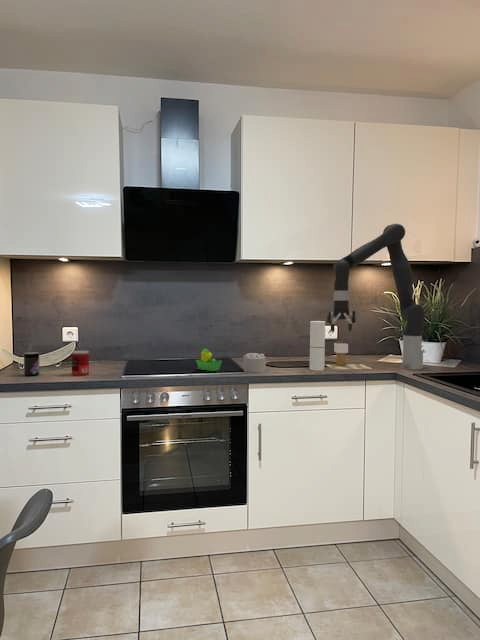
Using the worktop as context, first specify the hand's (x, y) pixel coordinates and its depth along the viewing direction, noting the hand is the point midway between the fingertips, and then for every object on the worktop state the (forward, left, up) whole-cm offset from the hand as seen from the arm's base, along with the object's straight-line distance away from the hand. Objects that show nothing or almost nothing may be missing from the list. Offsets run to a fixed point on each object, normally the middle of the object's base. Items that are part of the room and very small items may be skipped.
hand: (341, 331), depth 248 cm
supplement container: (+150, +10, -20) cm, 152 cm away
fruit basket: (+68, +2, -20) cm, 71 cm away
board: (-3, +3, -19) cm, 20 cm away
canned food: (+128, +10, -20) cm, 130 cm away
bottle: (0, 0, -18) cm, 18 cm away
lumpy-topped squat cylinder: (+45, +4, -20) cm, 49 cm away
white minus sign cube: (0, 0, -11) cm, 11 cm away
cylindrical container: (+15, +10, -20) cm, 27 cm away
